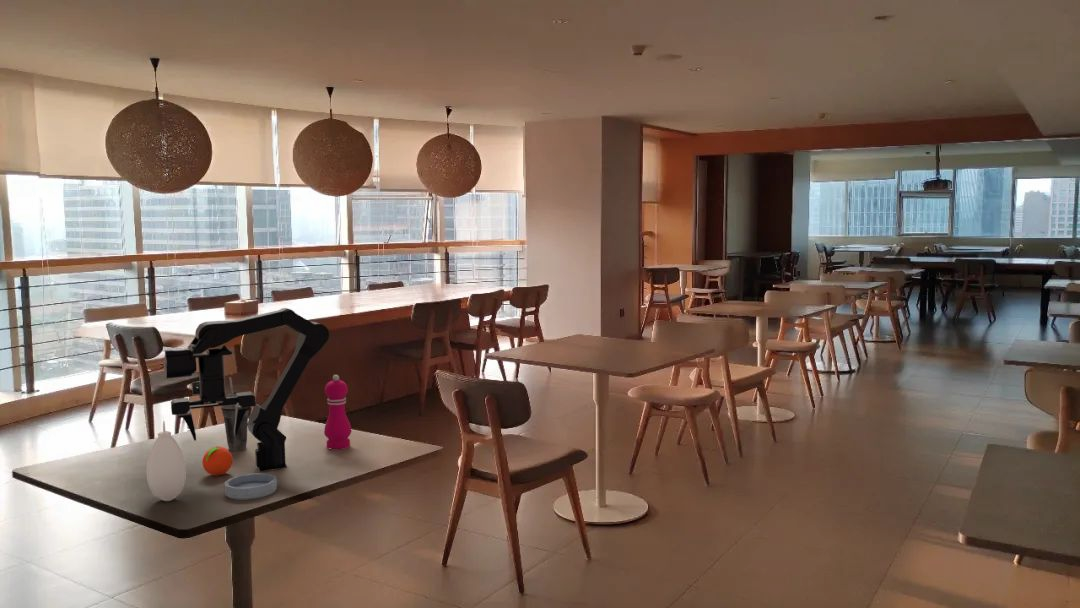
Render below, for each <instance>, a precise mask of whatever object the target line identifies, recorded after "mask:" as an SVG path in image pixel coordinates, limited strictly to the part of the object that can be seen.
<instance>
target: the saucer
mask: <svg viewBox="0 0 1080 608" xmlns="http://www.w3.org/2000/svg"><path fill="white" fill-rule="evenodd" d="M277 487H278V479H277V477H276V475H275V474H271V473H267V472H265V473H263V472H262V473H259V472H258V473H257V472H255V473H247V474H241V475H237V476H235V477H231V478H229V479H228V480H226V481H225V482H224V491H225V497H226V498H228V499H231V500H236V501H237V500H238V501H248V500H256V499H262V498H264V497H268V496H271V495H273V494H274V493H275V492H276V491H277Z"/></svg>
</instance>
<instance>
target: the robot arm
mask: <svg viewBox="0 0 1080 608" xmlns="http://www.w3.org/2000/svg"><path fill="white" fill-rule="evenodd" d="M282 326H288V327H289V328H290V329H292V330H293V331H295V332H297V333H299V334H298V337H297V340H296V344H295V349H294V352H293V354H292V356H291V358H289V361H288V362H287V365H286V366H285V368H284V370H283V371H282V373H281V375H280V376H279V378H278V381H277V382H276V383H275V386H274V387H273V388H272V390H271V392H270V395H269V396H268V398H267V399H266V400H265V401H264V402H263V403H262V404H261V405H259V404H257V403H256V395H255V394H254V393H253V392H252V391H241V392H238V393H236V397H227V398H226V396H227V395H226V394H227V392H226V376H225V374H226V373H225V357H224V356H230V355H231V356H232V355H233V351H232V350H230V349H228V348H227V346H226V345H225V344H226V343H228V342H229V343H230V342H231V341H232V340H234V339H236V338H238V337H241V336H245V335H248V334H254V333H258V332H262V331H266V330H269V329H274V328H278V327H282ZM194 334H195V336H194V338H193V339H192V341H191V342H190V344H189V345H187V348H181V349H164V362H163V370H164V371H163V372H164V377H165V379H166V380H170V379H178V378H179V379H180V378H188V377H189V378H190V377H192V376H193V374H195V373H196V372H197V369H198V378H199V379H198V380H199V381H192V382H191V391H192V392H191V393H192V396H195V397H196V396H198V397H199V400H190V399H189V397H181V398H174V399H173V398H172V400H171V401H170V410H171V415H173V416H177V417H178V418H179V419H183V421H185V423H186V425H187V427H188V429H189V431H190V433H191V436H192V438H193V440H194V441H195V442H196V441H197V433H196V429H195V425H194V420H193V419H194V418H193V413H192V411H191V410H193V409H203V408H204V409H205V408H213V407H222V406H224V405H233V404H237V405H235V425H234V432H235V436H237V433H238V430H239V427H240V424H241V421H242V418H243V416H244V414H245V412H246V411H247V410H249V411H250V410H251V407H252V411H251V412H250V414H248V417H247V418H248V426H247V430H248V431H249V432H250V434H252V436H253V437H254V438H255V439H257V440H258V441H259V442H257V443H256V447H257V448H255V450H254V453H255V454H254V455H255V459H254V460H255V466H256V467H257V469H258V470H259V472H265V471H273V470H280V469H287V468H288V465H287V463H286V444H285V443H286V440H287V436H286V435H285V434H284V433H283V432H282V431H281V430H280V429H278V427H279V426H280V422H281V417H282V412H283V409H284V407H285V404H286V403H287V402H288V400H289V398H290V396H291V394H292V393H293V391H294V389H295V387H296V385H297V384H298V382H299V381H300V379H301V377H302V375H303V373H305V370H306V368H307V366H308V365H309V363H310V361H311V360H312V358H314V356H316V355H317V354H318V353H319V352H320V351H321V350H323V347H324V346H325V345H326V344H327V343H328V341H329V339H330V331H329V329H328V327H327V326H326V325H325V324H322V323H319V322H316V321H309V320H308V319H306V318H305V317H303V316H301V315H300V314H298V313H296V311H294V310H293V309H292V308H291V309H290V308H287V307H283V308H280V309H278V310H277V309H276V310H274V311H273V310H272V311H269V312H264V313H261V314H255V315H253V316H249V317H242V318H240V319H239V318H238V319H235V320H213V321H204V322H200V323H199V324H198V326H197V328H196V329H195V333H194ZM219 346H220V347H219ZM217 347H218V348H217ZM205 351H206V352H205ZM197 360H198V361H197ZM197 363H198V368H197Z"/></svg>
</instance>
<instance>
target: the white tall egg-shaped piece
mask: <svg viewBox="0 0 1080 608" xmlns="http://www.w3.org/2000/svg"><path fill="white" fill-rule="evenodd" d="M165 422H166V421H165V420H163V421H162V431H159V432H158V433H157V437H156V439H155V441H154V442H153V444H152V446H151V448H150V450H149V453H148V456H147V461H146V462H147V463H146V480H147V484H148V487H149V489H150V491H151V493H152V494H153V496H154V497H156V498H158V499H159V500H160V501H164V502H170V501H173V500H174V499H176V498H177V497H178V495H179V494H181V493H182V491H183V489H184V487H185V484H186V480H187V479H186V478H187V464H186V460H185V456H184V454H183V450H182V449H181V446H180V444H179V443H178V442H177V441H176V439H175V438H174V437H173V436H172V432H170V431H166V423H165Z"/></svg>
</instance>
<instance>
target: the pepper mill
mask: <svg viewBox="0 0 1080 608" xmlns="http://www.w3.org/2000/svg"><path fill="white" fill-rule="evenodd" d="M346 383H347V382H345V381H343V380H341V379H340V376H339V375H338V374H333V376H332V380H330V381H329V382H327V383H326V384H325V387H324V393H325V395H326V396H327V397H328V398H327V399H326V400H327V404H328V407H329V410H328V411H329V412H328V416H327V420H326V423H325V424H324V429H323V430H324V431H323V433H324V436H325V437H326V439H327V440H326V448H327V449H328V448H331V449H330V450H332V449H339V450H344V449H343V448H345V449H348V448H350V446H351V439H350V438H349V437H350V436H351V434H352V426H351V425H352V424H351V422H350V420H349V419H348V416H347V414H346V403H347V397H346V396H347V393H348V392H349V391H348V389H349V388H348V385H347V384H346ZM347 447H348V448H347Z"/></svg>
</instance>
